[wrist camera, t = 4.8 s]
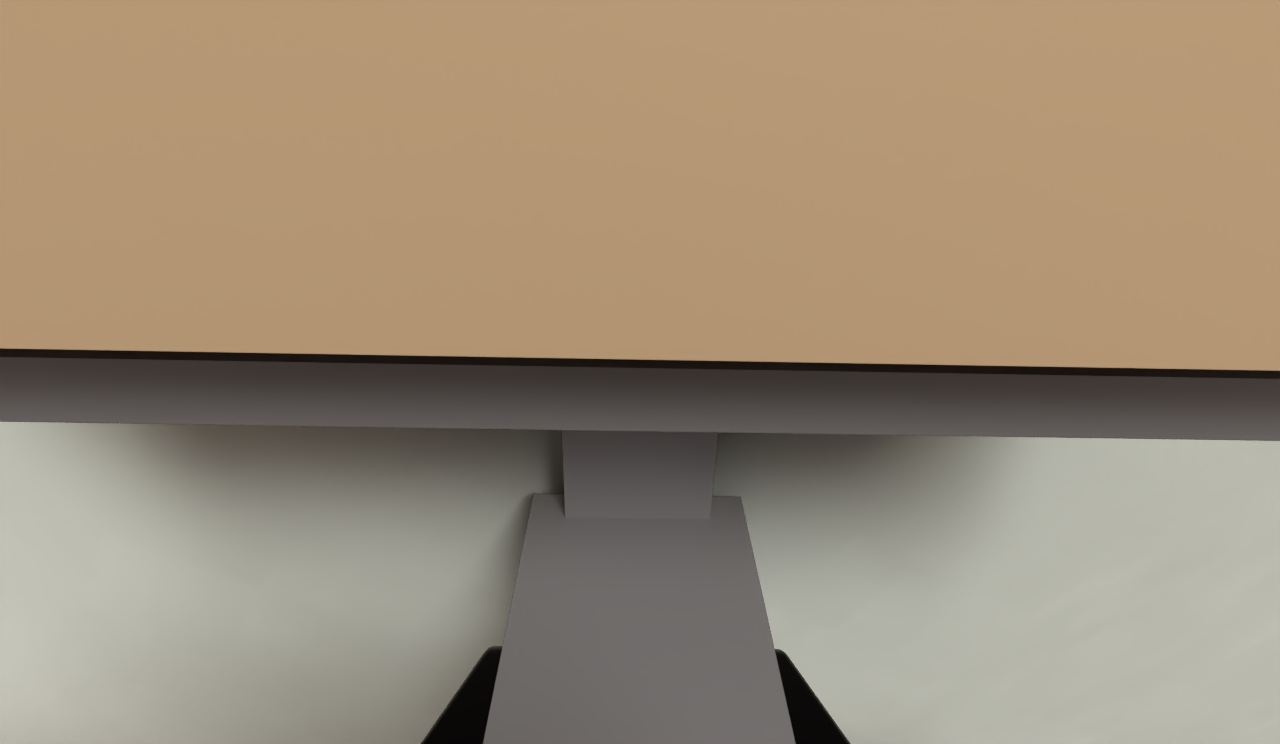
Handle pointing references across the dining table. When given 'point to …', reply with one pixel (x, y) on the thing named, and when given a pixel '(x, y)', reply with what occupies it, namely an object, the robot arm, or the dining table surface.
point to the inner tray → (636, 489)
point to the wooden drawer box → (646, 179)
